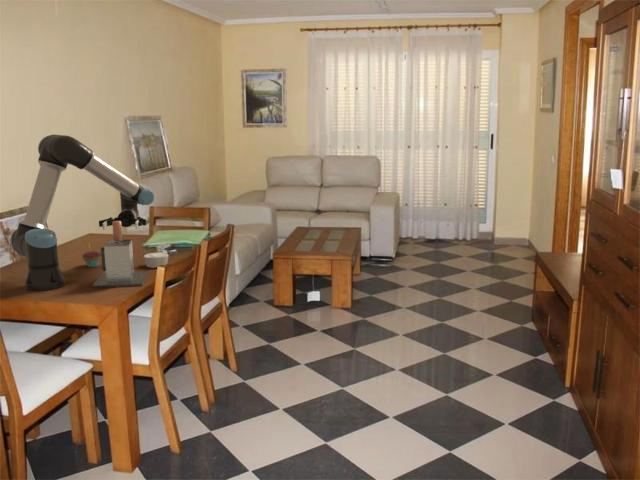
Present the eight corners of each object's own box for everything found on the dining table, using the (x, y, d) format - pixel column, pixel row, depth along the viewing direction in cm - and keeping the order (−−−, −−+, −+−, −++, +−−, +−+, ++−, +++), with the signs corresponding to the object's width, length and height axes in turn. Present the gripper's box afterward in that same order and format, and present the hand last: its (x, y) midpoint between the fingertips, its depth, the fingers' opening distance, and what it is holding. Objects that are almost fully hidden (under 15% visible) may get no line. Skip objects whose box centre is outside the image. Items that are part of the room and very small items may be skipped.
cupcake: (95, 268, 284) (93, 243, 282) (79, 267, 286) (77, 242, 283) (105, 263, 292) (103, 239, 290) (89, 263, 294) (87, 238, 292)
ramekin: (139, 267, 286) (138, 256, 285) (154, 262, 297) (153, 251, 296) (159, 269, 282) (158, 258, 281) (173, 264, 293) (172, 253, 292)
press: (92, 288, 252) (89, 248, 248) (100, 275, 271) (97, 238, 268) (142, 285, 255) (139, 246, 252) (147, 273, 275) (144, 236, 271)
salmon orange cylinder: (115, 277, 261) (111, 222, 256) (116, 275, 264) (113, 221, 259) (124, 277, 261) (120, 222, 256) (125, 275, 265) (121, 220, 260)
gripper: (154, 224, 286) (150, 233, 266) (99, 226, 282) (90, 235, 262) (154, 209, 285) (149, 216, 264) (98, 210, 281) (89, 218, 260)
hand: (120, 226), depth 263 cm, fingers open, 13 cm apart
